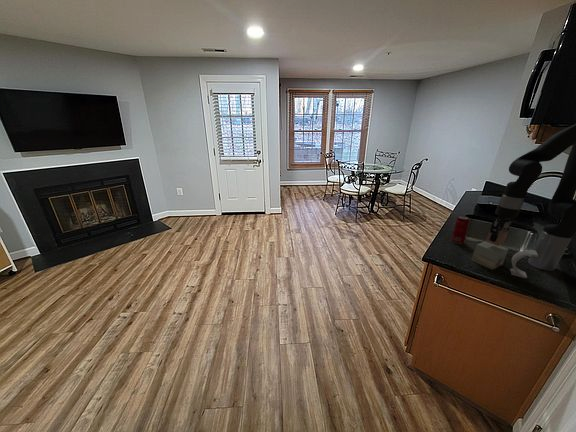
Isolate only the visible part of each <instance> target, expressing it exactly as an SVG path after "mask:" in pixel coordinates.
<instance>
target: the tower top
mask: <svg viewBox="0 0 576 432" xmlns="http://www.w3.org/2000/svg"><path fill="white" fill-rule="evenodd" d="M508 251H509V248H508V247H504V246H502V245H499V246H496V245H494V244H491V243H489V242H486V240H484V241H482V242H480V243H477V244H476V246H475V248H474V251H473V253H476V254H479V255H481V256H483V257H486V258H488V259H490V260H493V261H495V262H496V261H498V260H500V259H502V258H504V257H505V258H506V256H507V254H508Z"/></svg>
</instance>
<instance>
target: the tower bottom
mask: <svg viewBox="0 0 576 432" xmlns="http://www.w3.org/2000/svg"><path fill="white" fill-rule="evenodd" d="M505 259H506V256H505V257H504V258H502V259H500V260H498V261H496V262H495V261H493V260H490V259H488V258H486V257H483V256H481V255H479V254H476V253H474V252H473V254H472V257H471V258H470V260H471V261H472V262H474V263H477V264H478V265H480V266H483V267H485V268H488V269H489V270H491V271H492V270H495V269H497V268H499V267H501V266H503V265H504V262H505Z"/></svg>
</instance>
